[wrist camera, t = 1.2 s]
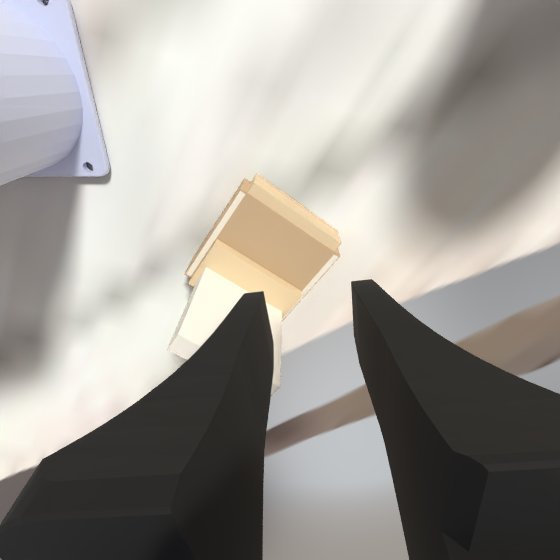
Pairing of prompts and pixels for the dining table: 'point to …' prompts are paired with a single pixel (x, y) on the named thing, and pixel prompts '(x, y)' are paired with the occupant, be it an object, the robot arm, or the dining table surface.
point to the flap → (230, 300)
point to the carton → (274, 235)
